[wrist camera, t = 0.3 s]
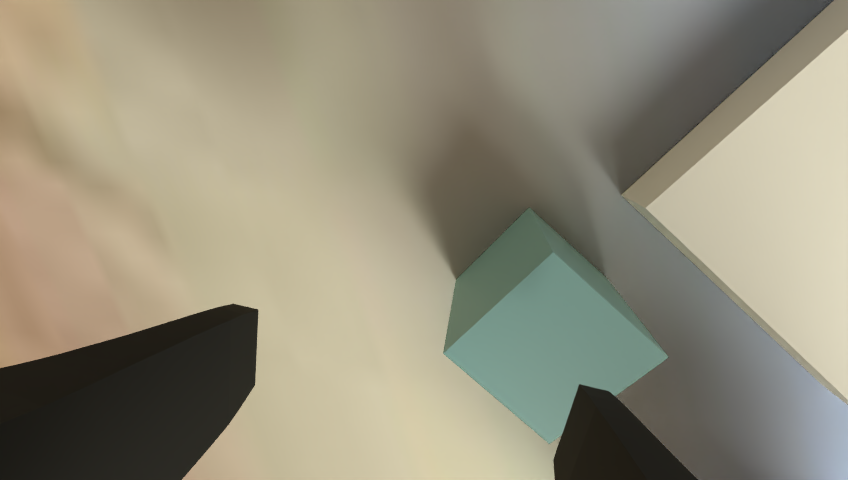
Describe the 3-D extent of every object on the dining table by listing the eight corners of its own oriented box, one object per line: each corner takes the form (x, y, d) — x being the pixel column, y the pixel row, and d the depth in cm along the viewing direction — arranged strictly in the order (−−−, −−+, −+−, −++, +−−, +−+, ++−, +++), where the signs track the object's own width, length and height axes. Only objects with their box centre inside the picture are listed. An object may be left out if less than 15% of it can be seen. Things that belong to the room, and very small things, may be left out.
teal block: (606, 277, 17) (668, 357, 11) (528, 343, 18) (549, 443, 12) (529, 207, 16) (553, 252, 11) (456, 279, 18) (443, 353, 12)
